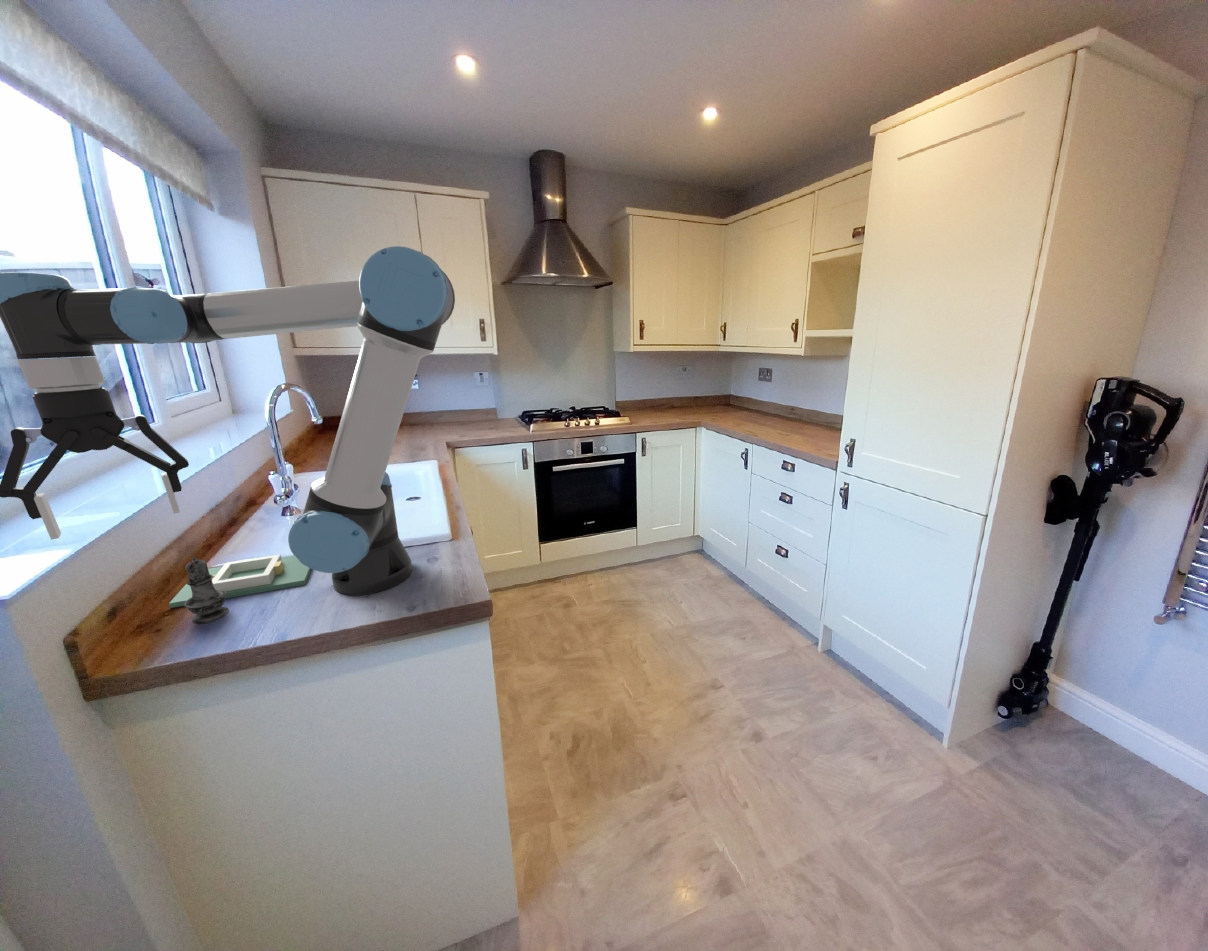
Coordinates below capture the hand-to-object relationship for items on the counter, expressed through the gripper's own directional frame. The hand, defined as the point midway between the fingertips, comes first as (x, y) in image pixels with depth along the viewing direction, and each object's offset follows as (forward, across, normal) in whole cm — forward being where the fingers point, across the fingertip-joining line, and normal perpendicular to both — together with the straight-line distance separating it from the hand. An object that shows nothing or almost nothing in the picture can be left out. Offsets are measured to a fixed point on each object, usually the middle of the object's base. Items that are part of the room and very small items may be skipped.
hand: (120, 523), depth 74 cm
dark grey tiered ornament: (+21, -7, -1) cm, 22 cm away
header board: (+21, -14, -12) cm, 28 cm away
